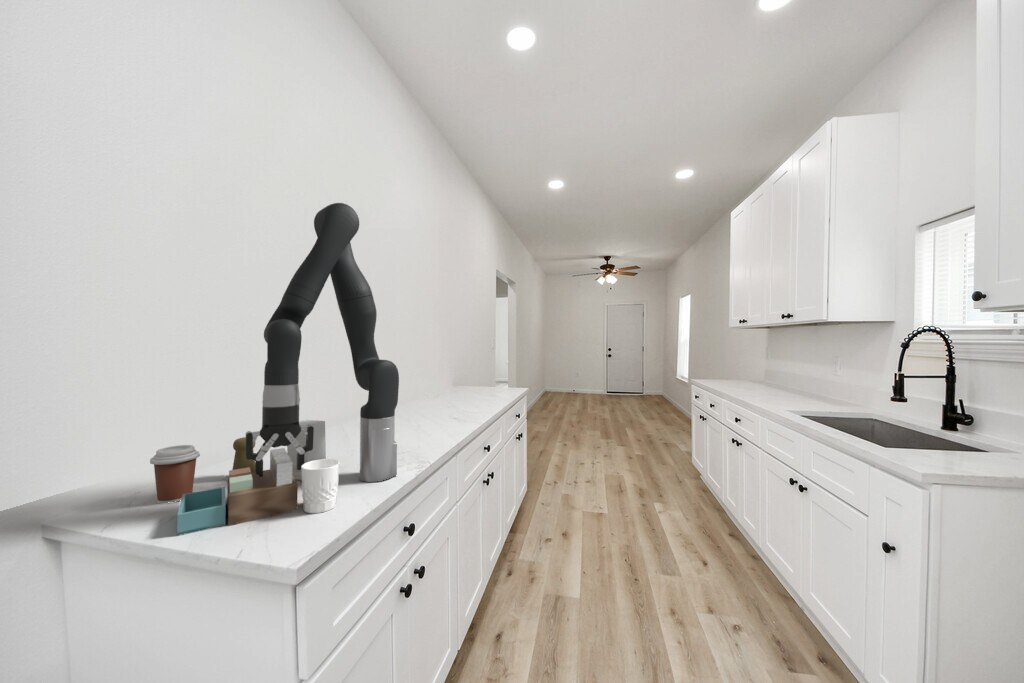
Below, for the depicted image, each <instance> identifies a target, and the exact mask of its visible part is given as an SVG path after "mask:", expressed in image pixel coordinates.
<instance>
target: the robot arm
mask: <svg viewBox="0 0 1024 683" xmlns="http://www.w3.org/2000/svg"><path fill="white" fill-rule="evenodd" d="M313 228H314V231H315V235H316V236H317V238H316V241H315V243H314V244H313V246H312V247H311V249H310V251H309V253H308V254H307V256H306V257H305V259H304V260H303V261H302V262H301V264H300V265H299V267H298V268H297V269H296V270H295V272H294V274H293V276H292V277H291V280H290V282H289V283H288V285H287V287H286V289H285V291H284V293H283V296H282V298H281V300H280V303H279V305H278V306H277V308H276V309H275V311H274V313H273V314H272V316H271V317H270V319H269V321H268V322H267V324H266V326H265V328H264V331H263V339H264V341H265V343H266V344H267V345H266V346H267V347H266V348H267V350H266V351H267V354H266V356H267V357H266V358H267V359H266V360H267V361H266V363H264V364H265V365H264V372H263V373H264V375H263V376H264V378H263V381H264V382H263V383H264V385H263V390H262V391H263V392H262V402H261V403H262V407H261V408H262V412H261V413H262V414H261V416H262V417H261V418H262V419H261V422H262V423H261V428H260V430H258V431H257V430H256V431H246V432H245V437H246V458H247V459H248V460H250V459H251V460H255V472H256V475H259V477H262V476H263V470H264V460H263V459H264V457H265V456H266V454H267V453H268V452H269V451H270V450H271V448H275V449H276V448H279V447H287V446H289V445H290V444H292V445H293V446H294V447H295V449H296V450H297V451H298V453H297V470H301V466H302V465H303V464H304V455H305V453H306V452H308V451H311V450H312V449H313V435H314V428H313V426H311V425H307V426H302V427H300V425H299V421H300V402H301V397H300V389H299V388H300V386H299V378H300V377H299V372H300V370H299V360H300V356H301V349H302V330H301V329H302V326H303V324H304V321H305V320H306V318H307V317H308V316H309V315H310V314H311V312H312V311H313V310H314V307H315V306H316V303H317V302H318V299H319V298H320V295H321V293H322V291H323V289H324V287H325V284H326V282H327V281H328V278H329V276H330V279H331V283H332V286H333V290H334V295H335V298H336V302H337V307H338V309H339V313H340V316H341V319H342V322H343V326H344V329H345V330H344V331H345V333H346V338H347V340H348V343H349V348H350V353H351V354H350V355H351V359H352V366H353V371H354V376H355V380H356V382H357V384H358V385H359V386H358V387H360V388H361V389H363V390H365V391H368V397H367V398H368V399H367V402H366V403H365V404H364V405H362V406H361V407H360V413H359V414H360V415H359V416H360V417H359V418H360V421H359V425H360V426H359V430H360V431H359V479H360V480H361V482H367V483H378V482H383V480H384V481H387V480H390V479H392V478H393V476H394V477H397V476H396V475H398V472H397V470H398V469H397V468H398V461H397V460H398V443H397V441H395V424H396V423H395V420H396V418H395V416H396V413H395V412H396V409H397V405H398V400H399V387H400V375H399V369H398V367H397V365H396V364H395V363H394V362H392V361H391V360H389V359H388V360H387V359H380V358H379V354H378V352H377V347H376V344H375V330H376V326H377V324H376V323H377V314H378V313H377V308H376V303H375V299H374V295H373V292H372V288H371V286H370V284H369V282H368V281H367V279H366V277H365V276H364V274H363V272H362V271H361V269H360V267H359V265H358V264H357V262H356V259H355V257H354V253H353V249H352V242H351V241H352V240H353V238H354V237H355V236H356V234H357V233H358V231H359V229H360V218H359V215H358V213H357V211H356V210H355V209H354V208H353V207H351V206H350V205H348V204H346V203H343V202H334V203H332V204H331V203H330V204H328V205H327V206H325V207H323V208H322V209H320V210H319V211H318V212H316V214H315V216H314V219H313ZM301 431H303V433H304V434H305V435H306V446H304V447H301V445H300V444H299V443H298V442H297V440H296V437H297V436H298V435H299V433H300V432H301ZM259 437H261V439H263V443H262V444H261V445H260V447H259V449H258V450H257V452H254V448H253V442H254V441H255V442H256V441H257V438H259ZM253 452H254V453H253ZM391 477H392V478H391ZM389 478H390V479H389ZM386 479H387V480H386ZM377 481H378V482H377Z"/></svg>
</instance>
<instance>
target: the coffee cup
mask: <svg viewBox="0 0 1024 683" xmlns="http://www.w3.org/2000/svg"><path fill="white" fill-rule="evenodd" d="M195 448H196V447H195V446H194V445H191V444H183V445H182V444H181V445H173V446H168V447H163V448H160V449H158V450H157V451H156V452H155V455H154V456H153V457H151V458H150V459H149V463H150V464H151V465H153V468H154V470H153V471H154V478H155V480H154V481H155V488H156V501H157V502H159V503H158V504H160V503H168V502H175V501H179V502H181V501H180V500H181V499H182V495H183V494H186V493H192V492H194V491H193V490H194V481H195V475H196V474H195V473H196V465H197V459H198V458H199V457H201V453H200V451H198V450H196V449H195ZM175 503H176V502H175ZM168 504H169V503H168Z"/></svg>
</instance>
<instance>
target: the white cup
mask: <svg viewBox="0 0 1024 683" xmlns="http://www.w3.org/2000/svg"><path fill="white" fill-rule="evenodd" d="M301 474H302V480H301V491H302V493H301V494H302V500H303V501H302V506H303V512H305V513H308V514H321V513H325V512H328V511H331V510H332V508H333V509H334V508H335V507H336V505H337V503H338V502H337V500H338V499H337V498H338V491H339V490H338V489H339V476H340V460H338V459H334V458H326V459H320V460H314V461H310V462H307V463H305V464H303V465H302V466H301Z"/></svg>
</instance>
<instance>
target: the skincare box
mask: <svg viewBox="0 0 1024 683" xmlns="http://www.w3.org/2000/svg"><path fill="white" fill-rule="evenodd" d="M299 425H300V427H302V426H307V425H311V426H313V428H314V435H313V449H312V450H311V451H308V452H306V453H305V455H304V464H305V463H307V462H310V461H314V460H320V459H327V452H326V451H327V448H326V446H327V445H326V420H316V419H305V418H304V419H301V420H299ZM296 440H297V442H298V443H299V444H300V445H301V447H304V446H306V435H305V434H304V433H303V431H301V432H300V433H299V435H298V436H297V437H296ZM286 448H287V449H286V452H287V453H288V455H289V457H290V458H291V460H292V474H293V476H294V478H295V480H296V481H297V480H298V481H302V474H301V470H297V453H298V451H297V450H296V449H295V447H294V446H293V445H292V444H290V445H289V446H286Z"/></svg>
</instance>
